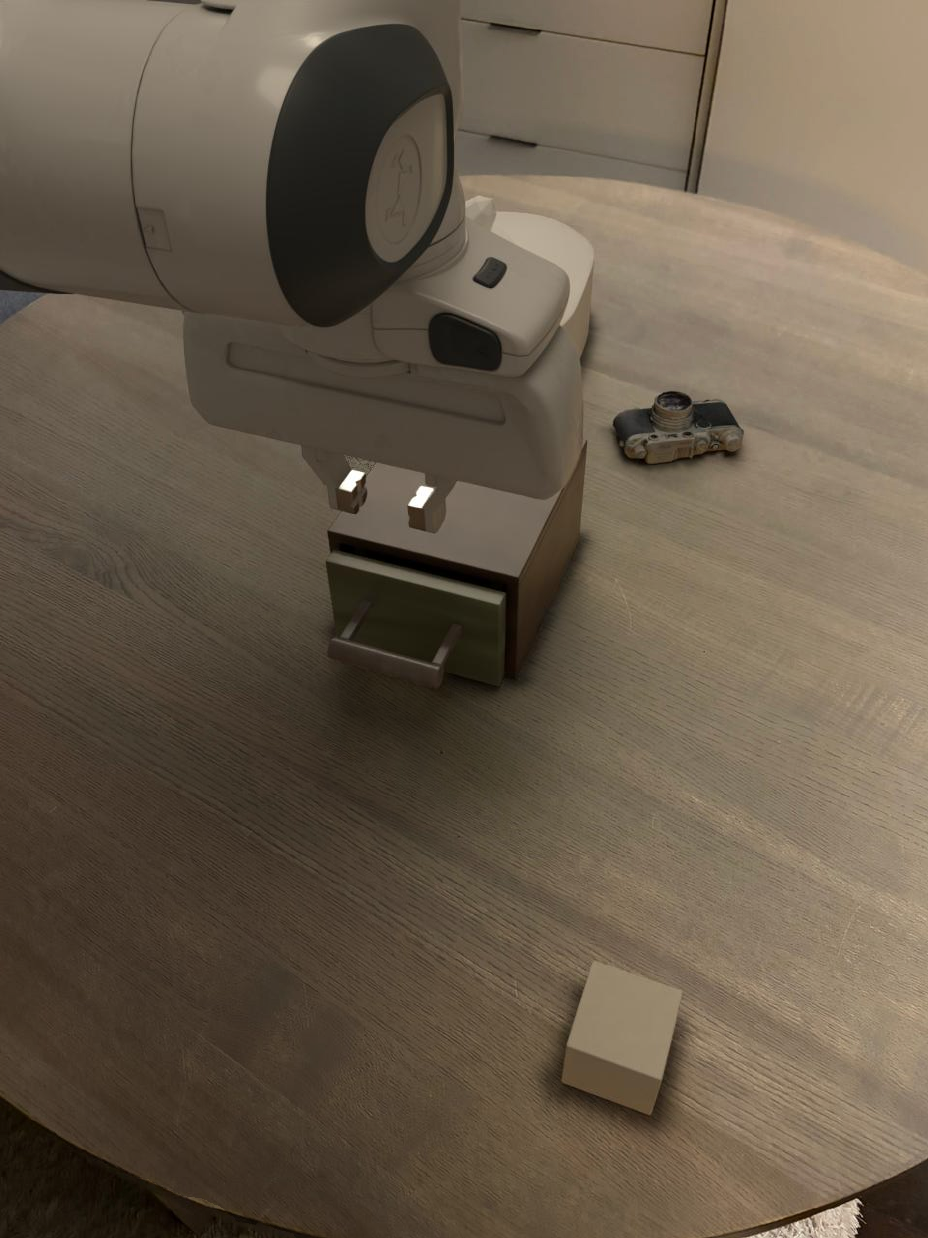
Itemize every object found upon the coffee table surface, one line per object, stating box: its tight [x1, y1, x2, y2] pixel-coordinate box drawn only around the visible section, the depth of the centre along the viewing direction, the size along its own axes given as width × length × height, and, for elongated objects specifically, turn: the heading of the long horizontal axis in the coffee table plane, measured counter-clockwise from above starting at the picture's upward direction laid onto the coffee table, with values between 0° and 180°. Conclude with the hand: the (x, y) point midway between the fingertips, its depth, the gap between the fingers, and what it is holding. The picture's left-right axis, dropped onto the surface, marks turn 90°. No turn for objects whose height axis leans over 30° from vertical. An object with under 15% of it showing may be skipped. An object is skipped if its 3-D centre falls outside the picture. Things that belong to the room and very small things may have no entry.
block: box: [561, 960, 684, 1116], centre depth 49 cm, size 4×4×4 cm
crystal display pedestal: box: [465, 195, 595, 360], centre depth 91 cm, size 25×25×16 cm
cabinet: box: [326, 438, 588, 680], centre depth 71 cm, size 15×13×9 cm
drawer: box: [325, 546, 507, 690], centre depth 68 cm, size 18×11×7 cm, turn 159°
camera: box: [612, 390, 745, 465], centre depth 84 cm, size 5×10×4 cm, turn 98°
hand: (388, 514), depth 56 cm, fingers open, 3 cm apart
